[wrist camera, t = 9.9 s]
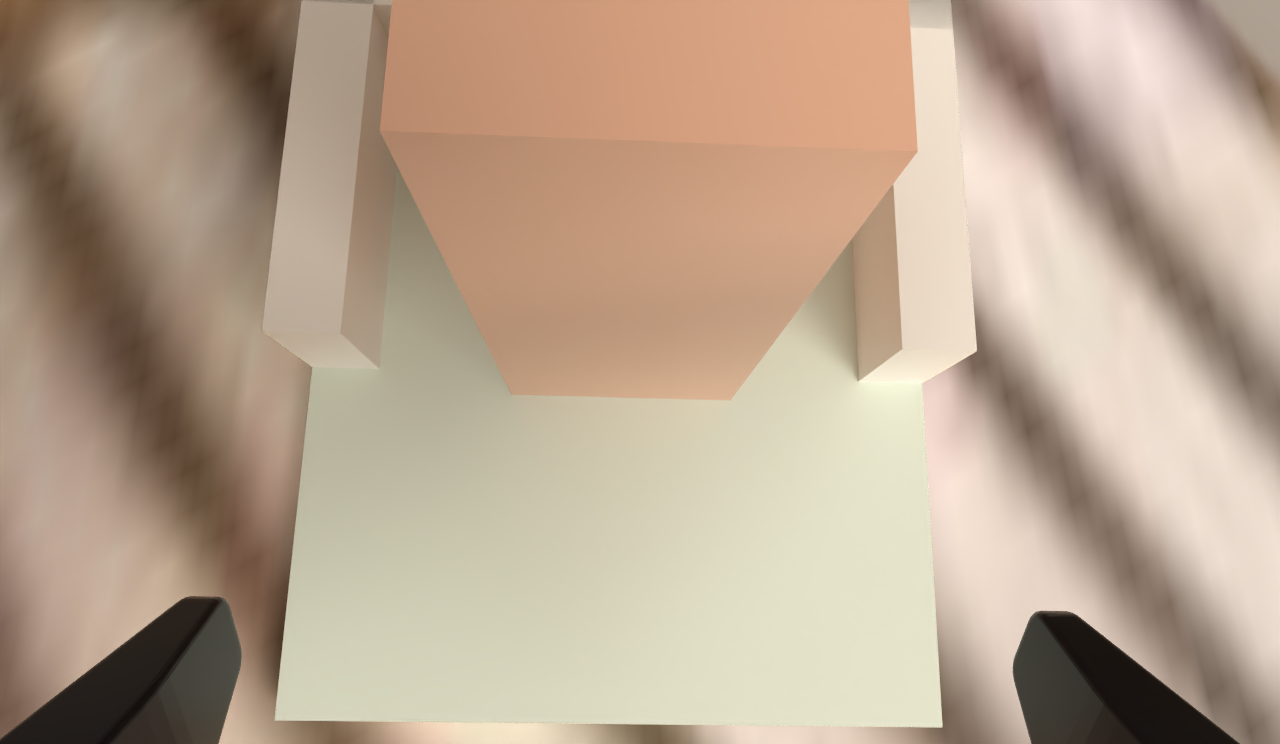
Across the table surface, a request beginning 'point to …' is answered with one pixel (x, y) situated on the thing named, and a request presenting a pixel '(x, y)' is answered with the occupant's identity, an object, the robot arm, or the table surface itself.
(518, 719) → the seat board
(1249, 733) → the table surface
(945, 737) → the table surface
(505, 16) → the tall peach block
